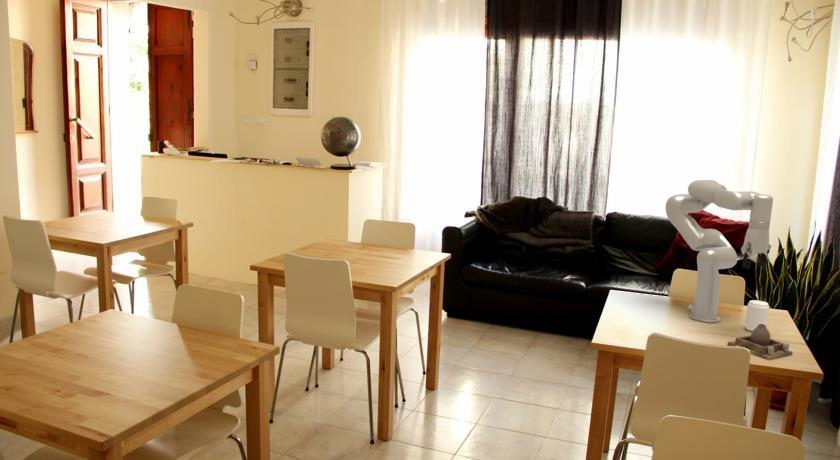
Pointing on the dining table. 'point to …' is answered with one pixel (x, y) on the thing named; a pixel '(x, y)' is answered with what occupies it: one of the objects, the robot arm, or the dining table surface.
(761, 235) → the robot arm
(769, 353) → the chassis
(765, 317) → the beverage can
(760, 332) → the vase
